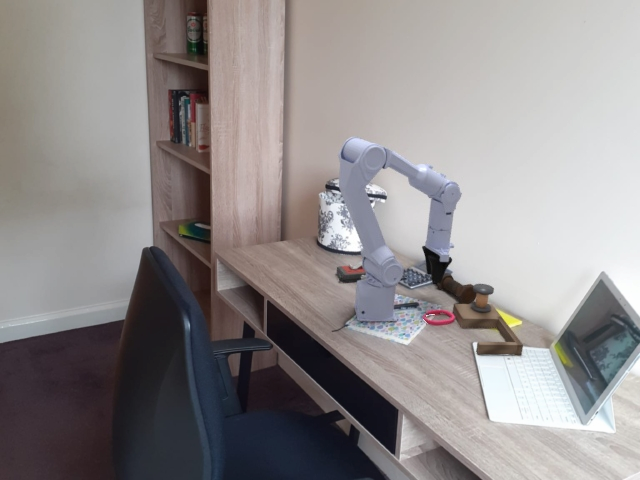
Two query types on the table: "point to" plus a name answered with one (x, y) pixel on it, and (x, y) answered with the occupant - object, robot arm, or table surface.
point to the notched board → (488, 320)
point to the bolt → (458, 289)
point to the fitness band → (437, 312)
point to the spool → (482, 298)
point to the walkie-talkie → (353, 273)
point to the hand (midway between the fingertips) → (433, 278)
